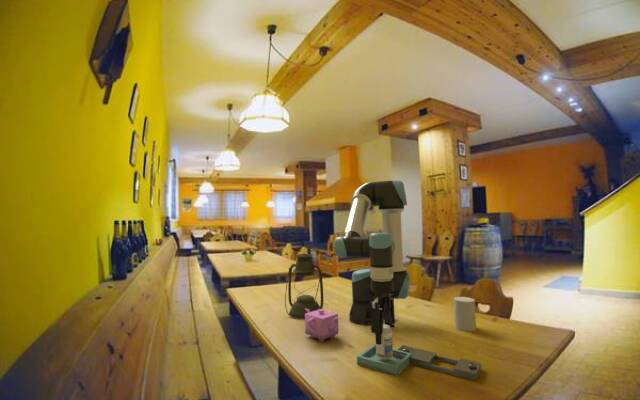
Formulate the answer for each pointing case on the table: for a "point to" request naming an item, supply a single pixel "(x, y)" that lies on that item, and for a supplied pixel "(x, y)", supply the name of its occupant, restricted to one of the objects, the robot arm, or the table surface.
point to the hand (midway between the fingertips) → (384, 350)
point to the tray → (383, 361)
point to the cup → (464, 313)
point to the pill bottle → (387, 343)
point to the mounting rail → (428, 358)
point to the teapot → (321, 324)
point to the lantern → (303, 302)
